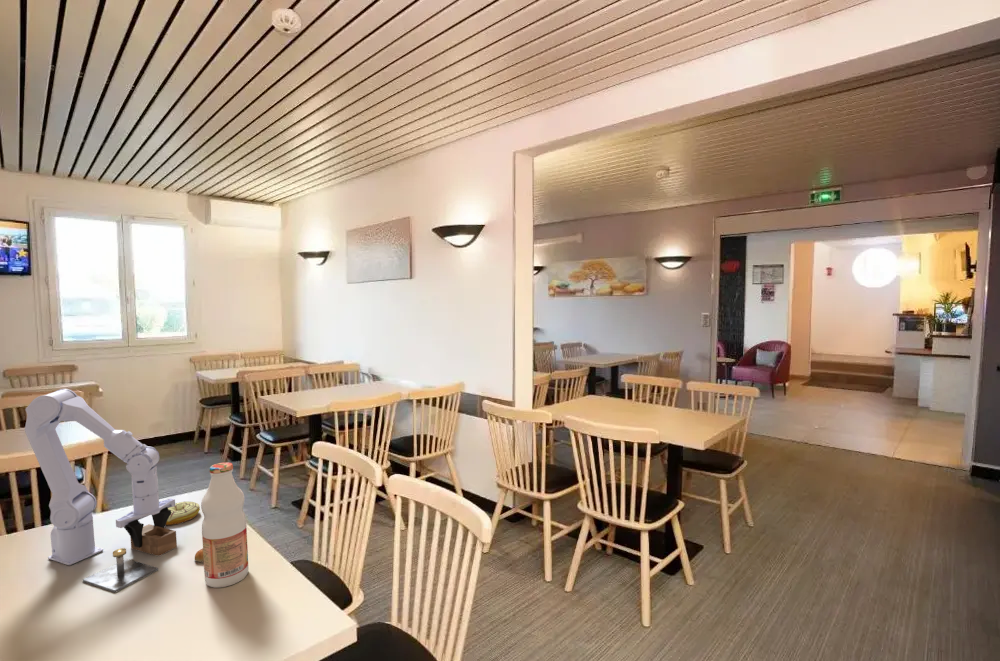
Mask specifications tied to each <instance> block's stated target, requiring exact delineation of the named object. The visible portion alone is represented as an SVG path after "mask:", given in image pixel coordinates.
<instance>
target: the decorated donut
mask: <svg viewBox="0 0 1000 661" xmlns="http://www.w3.org/2000/svg"><path fill="white" fill-rule="evenodd" d="M168 509H169V510H171V515H170V516H169V518H168V520H167V523H166V525H165V526H172V525H178V524H182V522H183V523H185V522H188V521H191V520H192V519H194V518H195V517H196V516H197V515H198V514H199V513H200V511H201V506H200V504H199V503H197V502H195V501H181V502H175V506H173V507H168Z"/></svg>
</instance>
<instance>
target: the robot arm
mask: <svg viewBox="0 0 1000 661" xmlns="http://www.w3.org/2000/svg"><path fill="white" fill-rule="evenodd" d="M24 410H25V412H26V415H27V416H26V422H25V426H24V433H25V435H26V437H27V440H28V442H29V444H30V446H31V450H32V451H33V453H34V455H35V458H36V460H37V462H38V464H39V467H40V469H41V471H42V474H43V476H44V478H45V480H46V482H47V486H48V488H49V489H50V492H51V498H50V501H49V504H48V507H49V510H50V516H49V519H50V520H49V521H50V523H51V524H52V525H53V527H52V529H51V532H50V544H51V555H49V556H47V558H48V559H49V560H52V561H54V562H57V563H61V564H63V565H67V566H72V565H74V564H76V563H78V562H80V561H83V560H86V559H87V558H90V557H92V556H94V555H96V554H99V553H102V552H103V551H104V548H103V547H98V546H96V544H95V530H94V528H95V527H94V517H93V511H94V510H95V509H96V506H97V502H98V501H97V498H96V497H95V495H93V494H92V493H90V492H89V490H88V488H87V486H86V485H83V484H81V483H80V482H79V481H78V478H77V476H76V475H75V473H74V472H75V471H74V470H73V467H72V464H71V463H70V460H69V458H68V456H67V452H66V451H65V449H64V446H63V445H62V441H61V439H60V437H59V435H58V432H57V430H56V428H58V427H57V426H58V425H59V424H60V423H61V422H76V423H78V424H79V425H81V426H82V427H83V428H86V429H87V430H88V431H90V432H92V433H93V434H94V435H96V436H98V437H99V438H100V439H102V440H103V447H104V448H105V449H106V450H107V451H109V452H110V453H111V454H113V455H115V456H116V457H117V458H118V459H119V460H121V461H122V462H124V463H126V465H125V469H126V470H127V472H128V473H129V474H130V475H131V489H132V492H131V493H132V506H133V508H132V509H133V510H132V511H130V512H128V513H127V514H125V515H123V516H121V517H119V518H117V519H115V526H116V528H118V529H119V528H120V529H123V528H124V529H125V531H126V532H127V533H128V535H129V537H131V538H132V541H133V543H134V546H135V547H138V548H140V547H142V530H143V527H144V526H145V525H144V523H141V522H140V521H139V520H142V519H144V518H146V517H148V516H151V517H152V521H153V522H152V523H153V525H154V526H158V527H162V528H166V526H167V525H166V523H167V520H168V518H169V516H170V515H171V510H169V509H168V507H173V506H175V504H176V499H175V498H172V497H170V498H168V499H167V498H166V499H165V500H164V499H163V500H161V501H160V497H159V496H160V494H159V481H158V471H157V470H158V469H157V468H158V466H157V464H158V463H159V461H160V453H159V451H158V450H157V448H155V447H153V446H148V445H147V444H145V443H142V442H141V441H139V440H138V439H137V438H135V437H134V436H133V435H134V434H133V432H131V431H130V430H128V431H126V429H115V428H114V427H113V426H112V425H111V424H110V423H109V422H108V421H107V420H105V419H104V418H103V417H102V416H101V415H100V414H98V413H97V412H96V411H95V410H94V409H93V408H92V407H90V406H89V405H88V403H87V402H86V401H85V399H84V398H83V397H82V396H80V395H78V394H77V393H76V392H75V391H73V390H71V389H69V388H61V389H57V390H55V391H53V392H50V393H47V394H43V395H39V396H37V397H35V398H34V399H32V401H31V402H30V403H29V405H28V406H27V407H25V409H24ZM131 538H130V539H131Z"/></svg>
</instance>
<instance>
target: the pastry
mask: <svg viewBox="0 0 1000 661" xmlns="http://www.w3.org/2000/svg"><path fill="white" fill-rule="evenodd" d="M194 561H196V562H198V563H204V558H203V548H201V549H199V550H198V551H196V553H195V554H194Z"/></svg>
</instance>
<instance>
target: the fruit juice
mask: <svg viewBox="0 0 1000 661" xmlns="http://www.w3.org/2000/svg"><path fill="white" fill-rule="evenodd" d="M232 472H234V465H233V463H232V462H227V461H226V462H219V463H215V464H212V465H211V466H210V467H209V475H210V481H209V484H208V488H207V490H206V492H205V494H204V495H203V497H202V500H201V504H200V505H201V506H200V510H201V511H202V515H203V521H202V523H201V524H202V525H201V536H202V537H201V538H202V540H201V541H202V549H203V558H204V562H203V574H204V582H205V584H206V585H207V586H208V587H209V588H216V589H217V588H224V587H229V586H233V585H235V584H238V583H239V582H241V581H242V580H243V579H245V578H246V576H247V575H248V573H249V552H248V551H249V550H248V532H247V517H246V513H245V512H244V510H243V508H244V505H245V494H244V492H243V491H242V489H241V488H240V487H239V486H238V485H237V483H236V481H235V479H234V476H233V473H232Z"/></svg>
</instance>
